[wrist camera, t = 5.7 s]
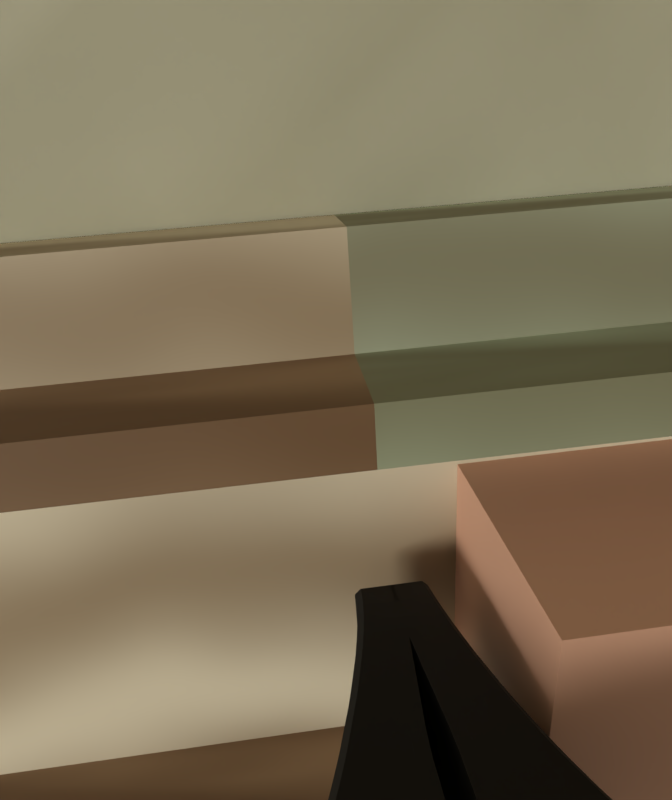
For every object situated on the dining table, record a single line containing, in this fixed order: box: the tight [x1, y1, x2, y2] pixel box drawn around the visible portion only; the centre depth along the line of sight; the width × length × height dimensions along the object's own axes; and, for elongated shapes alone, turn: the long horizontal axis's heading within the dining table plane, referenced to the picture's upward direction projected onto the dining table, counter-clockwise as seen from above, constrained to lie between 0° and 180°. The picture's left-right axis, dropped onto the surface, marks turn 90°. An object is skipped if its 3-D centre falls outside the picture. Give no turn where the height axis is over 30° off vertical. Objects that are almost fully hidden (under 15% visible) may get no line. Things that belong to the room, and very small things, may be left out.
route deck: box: [0, 186, 672, 800], centre depth 11 cm, size 14×29×4 cm, turn 94°
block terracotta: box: [454, 439, 672, 800], centre depth 9 cm, size 5×5×4 cm
